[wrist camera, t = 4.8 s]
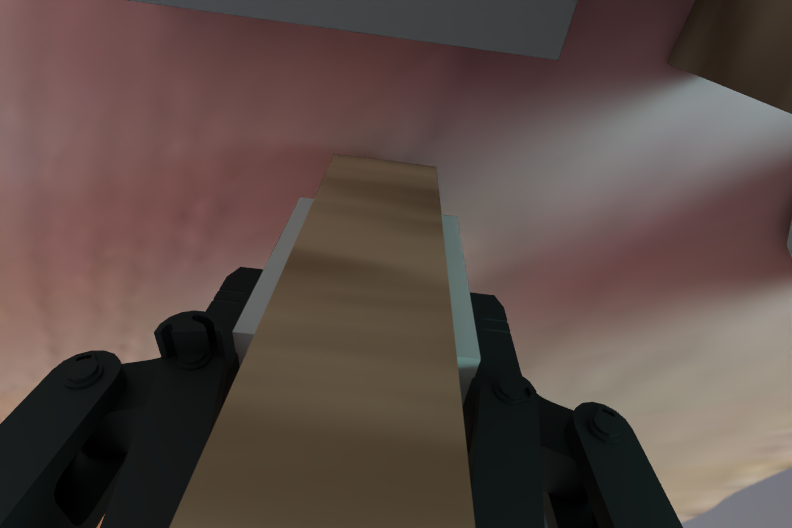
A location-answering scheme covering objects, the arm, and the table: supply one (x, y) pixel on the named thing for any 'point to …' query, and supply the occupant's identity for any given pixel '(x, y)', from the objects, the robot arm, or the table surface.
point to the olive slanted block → (740, 47)
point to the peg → (347, 374)
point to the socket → (420, 20)
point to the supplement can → (790, 241)
